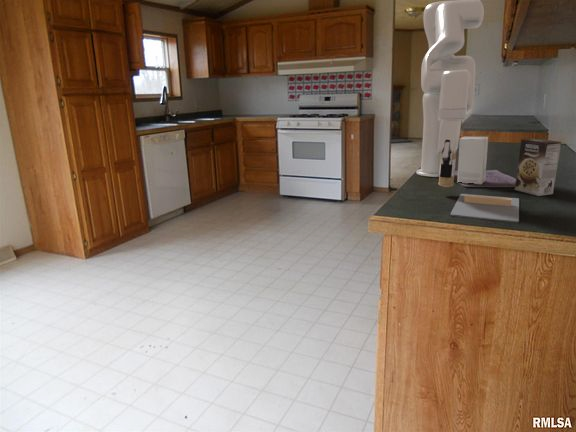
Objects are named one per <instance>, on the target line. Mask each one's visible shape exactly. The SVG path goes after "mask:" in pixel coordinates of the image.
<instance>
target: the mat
mask: <svg viewBox="0 0 576 432" xmlns="http://www.w3.org/2000/svg"><path fill="white" fill-rule="evenodd" d="M449 217H458V218H471V219H480V220H490V221H498V222H507V223H508V222H509V223H520V198H519V197H518V198H517V197H505V196H496V195H495V196H492V195H480V194H470V193H469V194H468V193H460V194H459V196H458V198H457V200H456V202H455V204H454V206H453V208H452V210H451V212H450V214H449Z"/></svg>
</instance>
